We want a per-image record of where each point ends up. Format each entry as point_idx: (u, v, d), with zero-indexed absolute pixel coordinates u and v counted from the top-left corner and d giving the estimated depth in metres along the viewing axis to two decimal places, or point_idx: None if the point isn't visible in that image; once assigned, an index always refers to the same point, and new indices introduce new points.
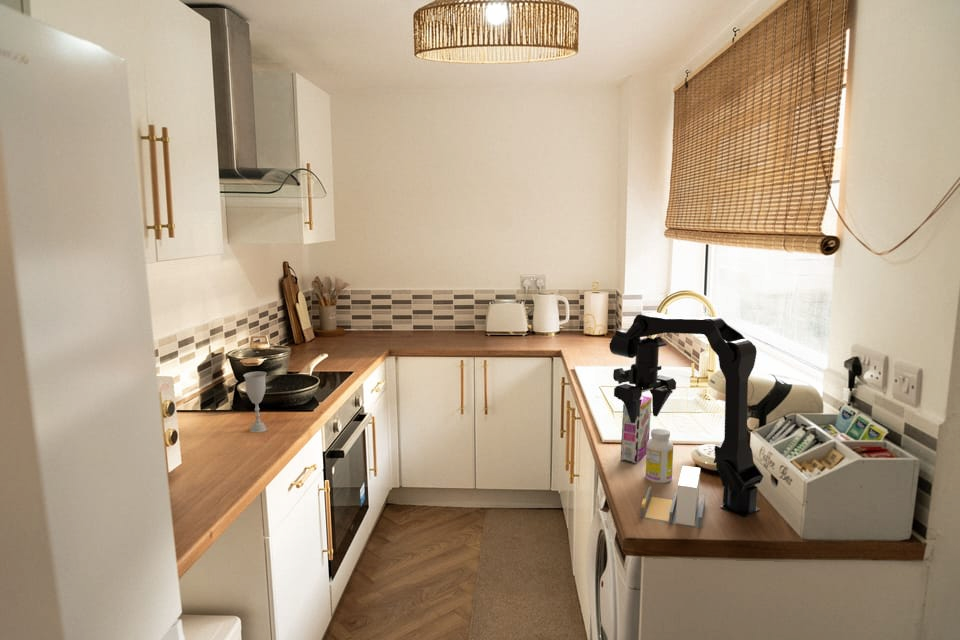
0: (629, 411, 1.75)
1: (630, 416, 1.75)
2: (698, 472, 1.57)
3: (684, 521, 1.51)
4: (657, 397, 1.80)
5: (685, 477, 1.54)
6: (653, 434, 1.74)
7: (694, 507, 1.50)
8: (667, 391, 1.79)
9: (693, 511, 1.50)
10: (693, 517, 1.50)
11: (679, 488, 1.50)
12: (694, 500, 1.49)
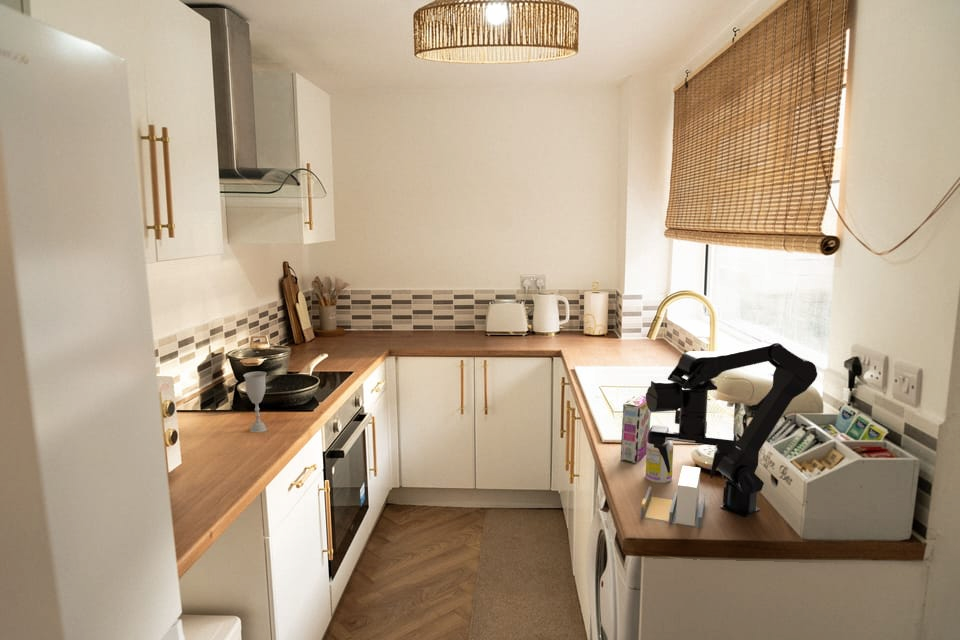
0: None
1: None
2: (698, 472, 1.57)
3: (684, 521, 1.51)
4: None
5: (685, 477, 1.54)
6: None
7: (694, 507, 1.50)
8: (720, 452, 1.50)
9: (693, 511, 1.50)
10: (693, 517, 1.50)
11: (679, 488, 1.50)
12: (694, 500, 1.49)
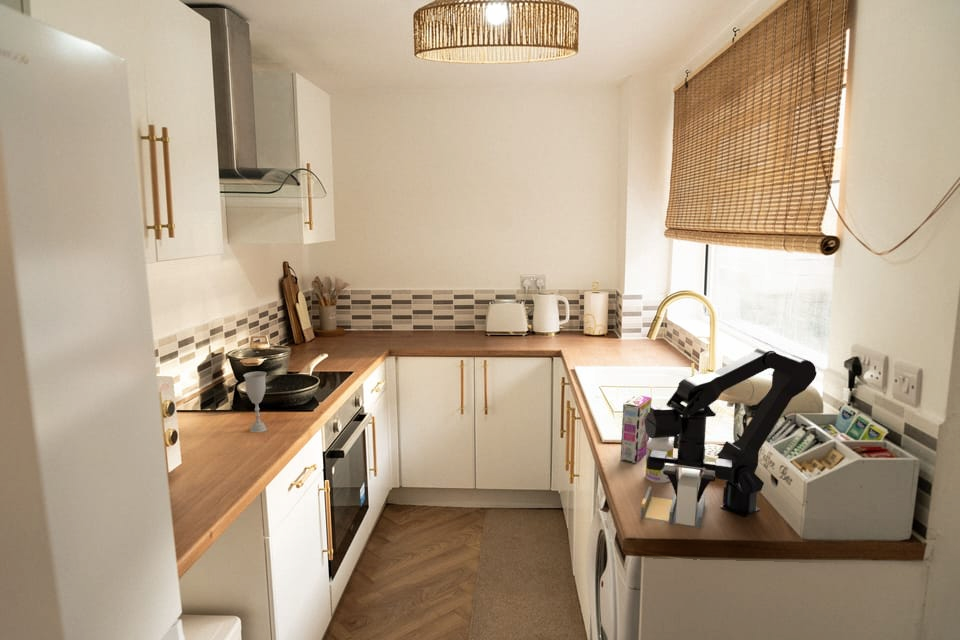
0: None
1: None
2: (698, 472, 1.57)
3: (684, 521, 1.51)
4: (700, 481, 1.54)
5: (685, 477, 1.54)
6: None
7: (694, 507, 1.50)
8: (707, 477, 1.51)
9: (693, 511, 1.50)
10: (693, 517, 1.50)
11: (679, 488, 1.50)
12: (694, 500, 1.49)
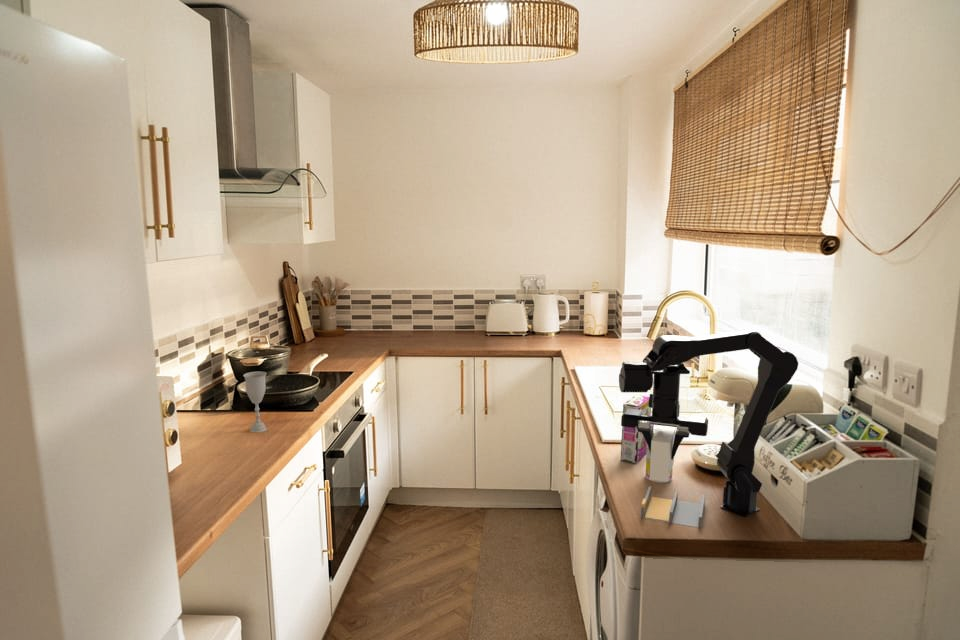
0: None
1: None
2: (673, 430, 1.58)
3: (658, 477, 1.52)
4: None
5: (659, 435, 1.55)
6: None
7: (667, 463, 1.50)
8: (681, 433, 1.52)
9: (666, 467, 1.50)
10: (666, 473, 1.51)
11: (653, 444, 1.51)
12: (667, 456, 1.50)
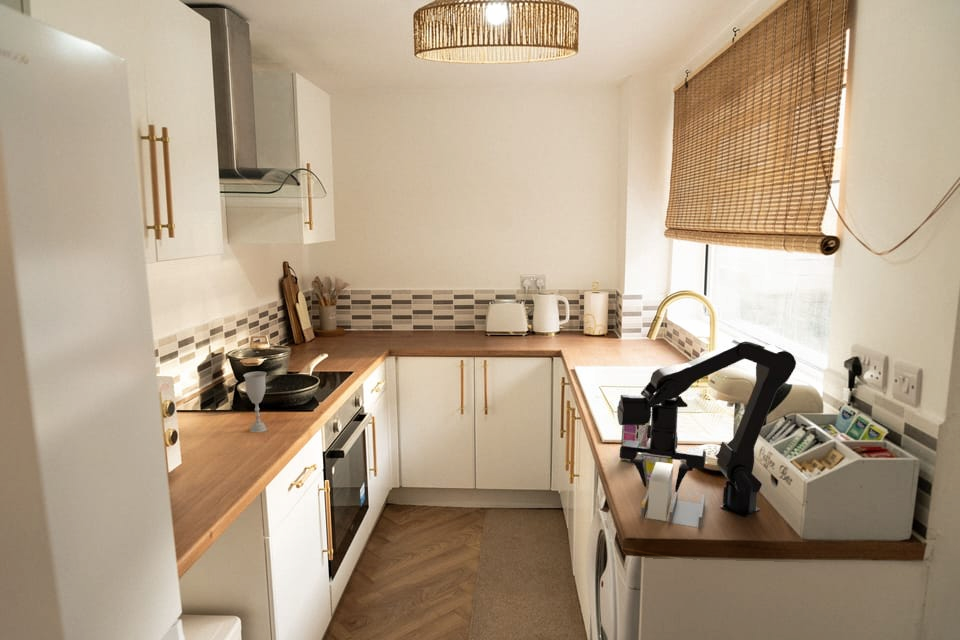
0: None
1: None
2: (670, 468, 1.59)
3: (656, 516, 1.53)
4: None
5: (657, 473, 1.56)
6: None
7: (665, 502, 1.52)
8: (684, 467, 1.53)
9: (664, 506, 1.52)
10: (664, 512, 1.52)
11: (651, 483, 1.52)
12: (665, 495, 1.52)
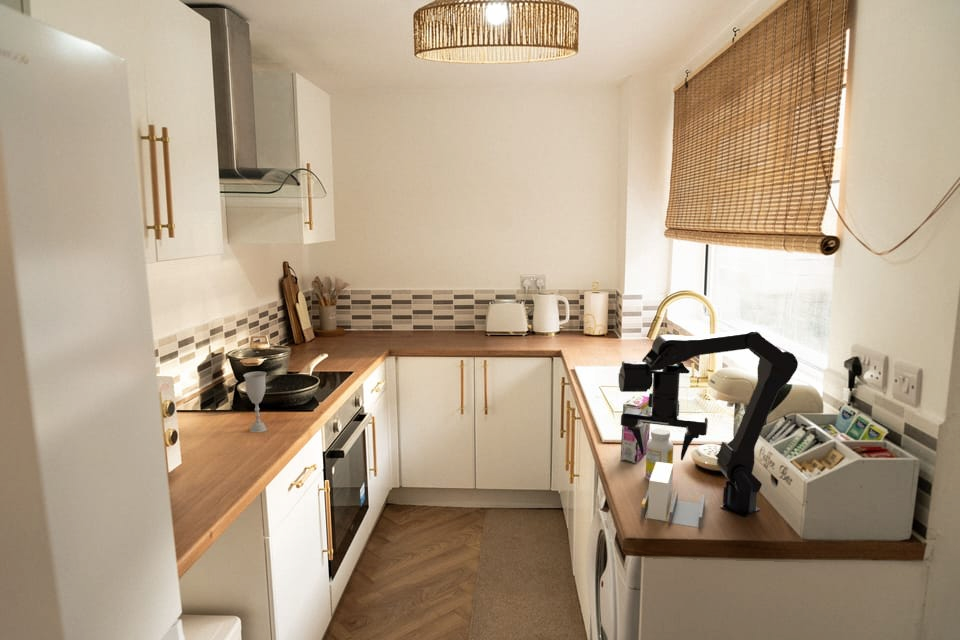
0: None
1: None
2: (670, 468, 1.59)
3: (656, 516, 1.53)
4: None
5: (657, 473, 1.56)
6: (653, 434, 1.74)
7: (665, 502, 1.52)
8: (690, 434, 1.51)
9: (664, 506, 1.52)
10: (664, 512, 1.52)
11: (651, 483, 1.52)
12: (665, 495, 1.52)
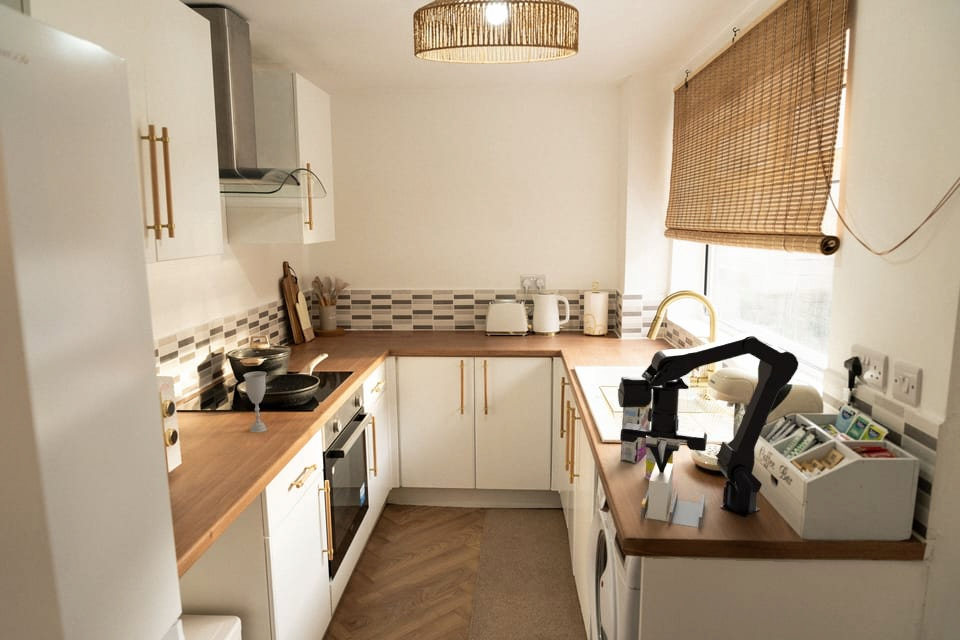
0: None
1: None
2: (670, 468, 1.59)
3: (656, 516, 1.53)
4: None
5: (657, 473, 1.56)
6: None
7: (665, 502, 1.52)
8: (670, 447, 1.53)
9: (664, 506, 1.52)
10: (664, 512, 1.52)
11: (651, 483, 1.52)
12: (665, 495, 1.52)
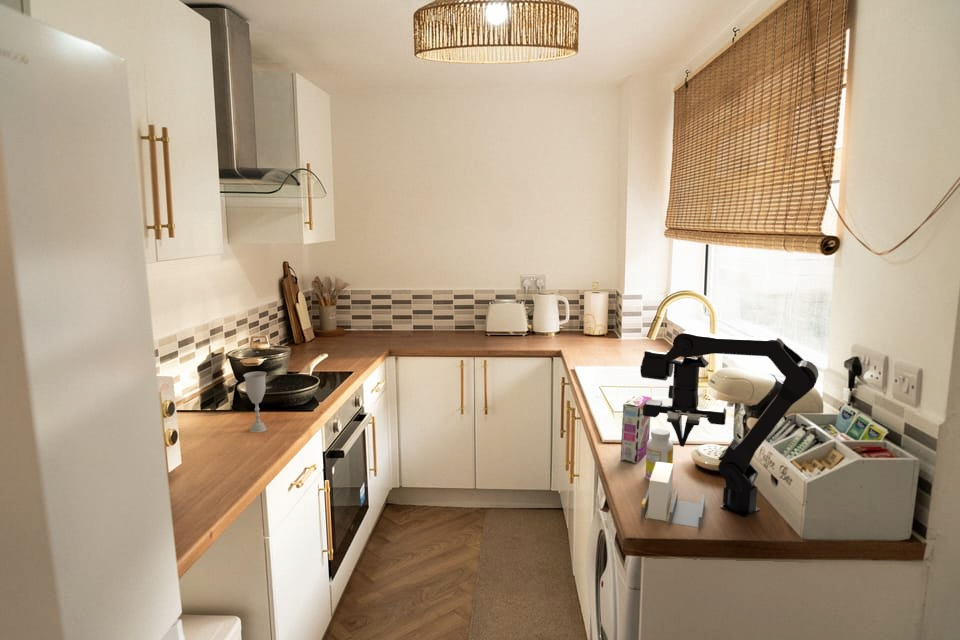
0: None
1: None
2: (671, 468, 1.59)
3: (656, 516, 1.53)
4: None
5: (657, 473, 1.56)
6: (653, 434, 1.74)
7: (665, 502, 1.52)
8: (691, 422, 1.60)
9: (665, 506, 1.52)
10: (665, 512, 1.52)
11: (651, 483, 1.53)
12: (665, 495, 1.52)
